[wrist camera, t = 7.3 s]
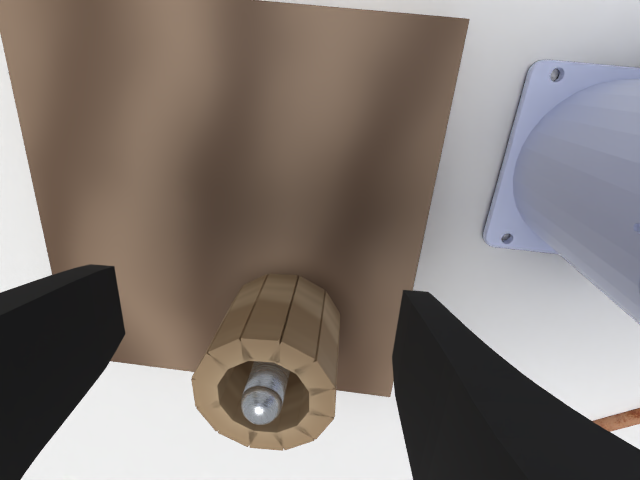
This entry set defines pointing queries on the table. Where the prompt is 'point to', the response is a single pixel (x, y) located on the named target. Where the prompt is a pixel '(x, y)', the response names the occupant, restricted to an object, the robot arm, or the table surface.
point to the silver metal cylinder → (264, 392)
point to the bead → (273, 346)
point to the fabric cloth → (235, 157)
